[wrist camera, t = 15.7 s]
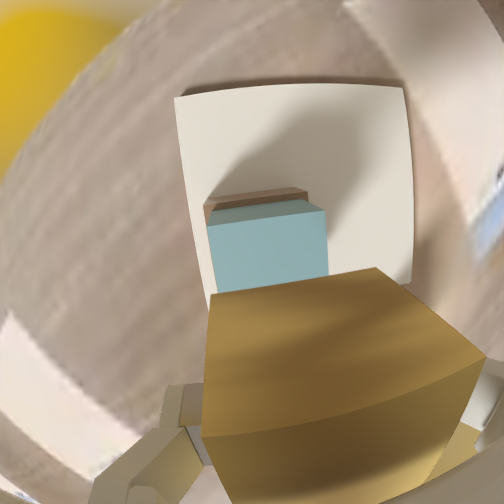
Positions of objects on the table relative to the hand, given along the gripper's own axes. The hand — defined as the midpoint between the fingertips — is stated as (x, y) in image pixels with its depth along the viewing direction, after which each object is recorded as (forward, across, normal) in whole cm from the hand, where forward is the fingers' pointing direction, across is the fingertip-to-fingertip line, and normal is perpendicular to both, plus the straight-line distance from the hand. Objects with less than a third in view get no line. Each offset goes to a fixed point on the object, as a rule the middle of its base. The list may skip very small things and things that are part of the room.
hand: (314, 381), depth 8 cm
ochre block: (+2, 0, 0) cm, 2 cm away
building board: (+18, -5, -2) cm, 19 cm away
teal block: (+13, 0, 0) cm, 13 cm away
